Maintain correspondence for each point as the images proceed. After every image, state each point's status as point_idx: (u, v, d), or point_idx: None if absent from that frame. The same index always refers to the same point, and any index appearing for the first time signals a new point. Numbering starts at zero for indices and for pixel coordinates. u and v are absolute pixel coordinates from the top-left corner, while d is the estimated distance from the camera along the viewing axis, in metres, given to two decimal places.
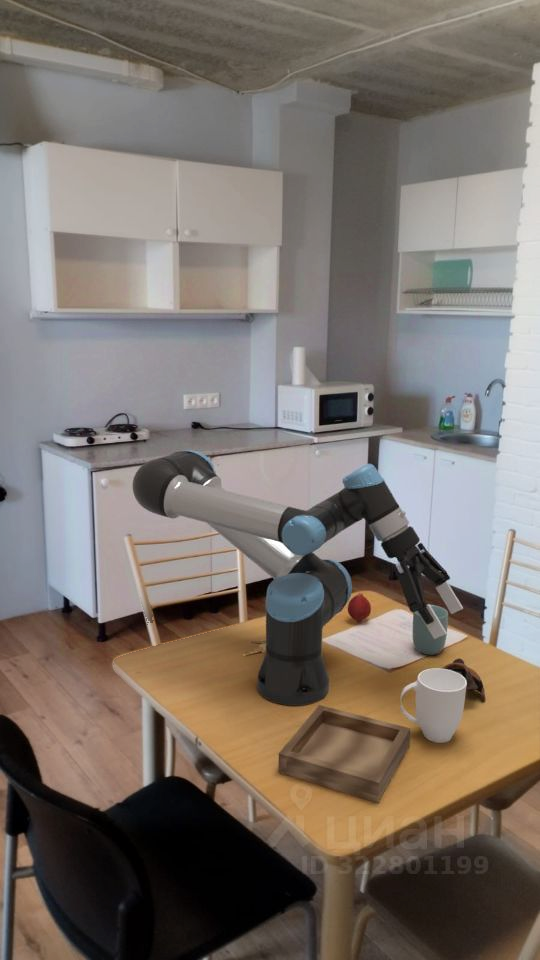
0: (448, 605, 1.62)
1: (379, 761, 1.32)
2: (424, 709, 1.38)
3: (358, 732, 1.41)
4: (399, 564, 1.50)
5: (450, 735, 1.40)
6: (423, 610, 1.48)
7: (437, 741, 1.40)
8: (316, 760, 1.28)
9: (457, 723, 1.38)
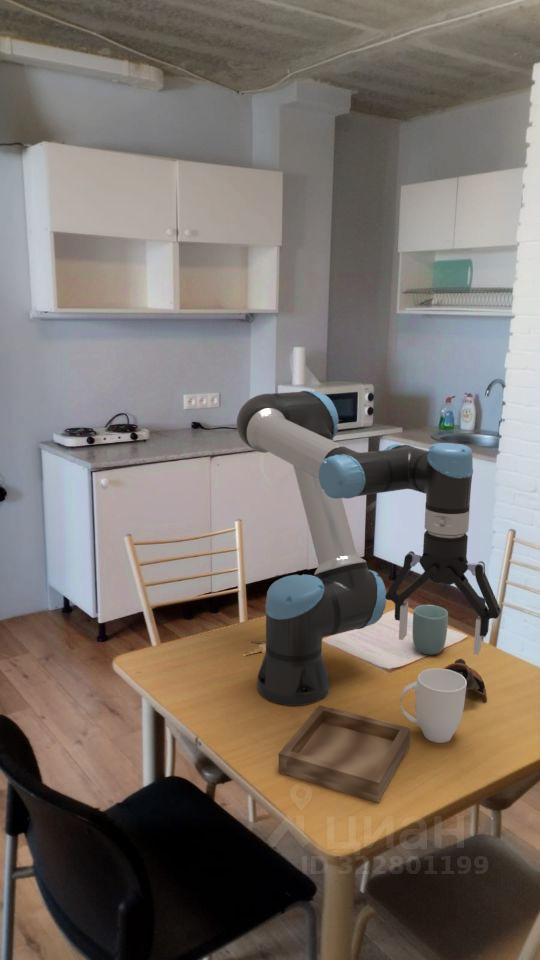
0: None
1: (379, 761, 1.32)
2: (424, 709, 1.38)
3: (358, 732, 1.41)
4: (406, 555, 1.37)
5: (450, 735, 1.40)
6: None
7: (437, 741, 1.40)
8: (316, 760, 1.28)
9: (457, 723, 1.38)
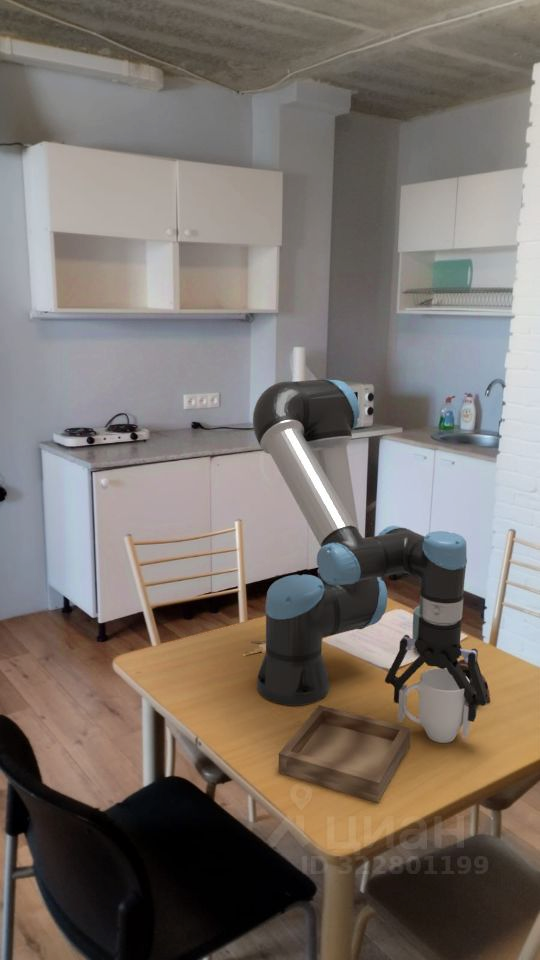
0: None
1: (379, 761, 1.32)
2: (427, 710, 1.38)
3: (358, 732, 1.41)
4: (401, 639, 1.40)
5: (454, 735, 1.40)
6: None
7: (441, 741, 1.40)
8: (316, 760, 1.28)
9: (461, 723, 1.38)
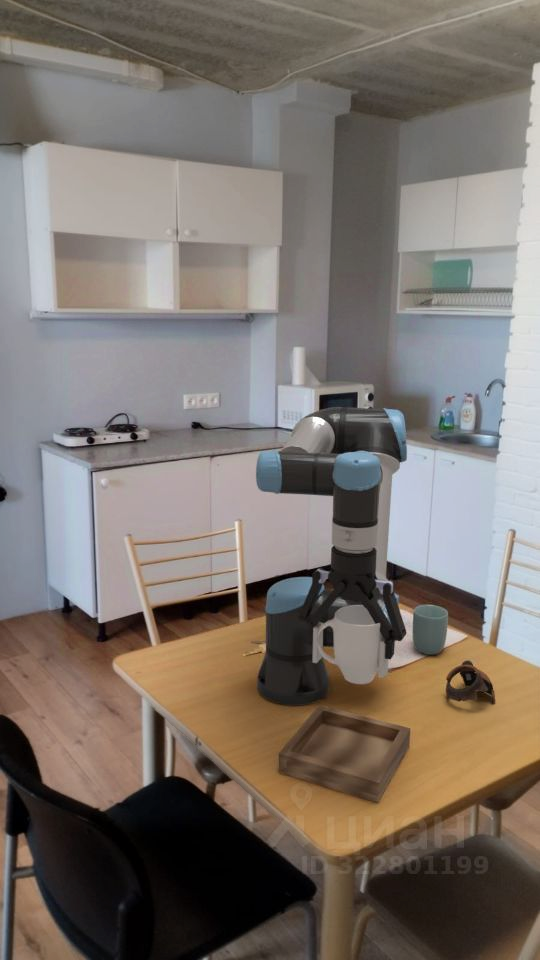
0: None
1: (379, 761, 1.32)
2: (341, 647, 1.27)
3: (358, 732, 1.41)
4: None
5: (371, 675, 1.29)
6: None
7: (357, 682, 1.29)
8: (316, 760, 1.28)
9: (377, 661, 1.28)
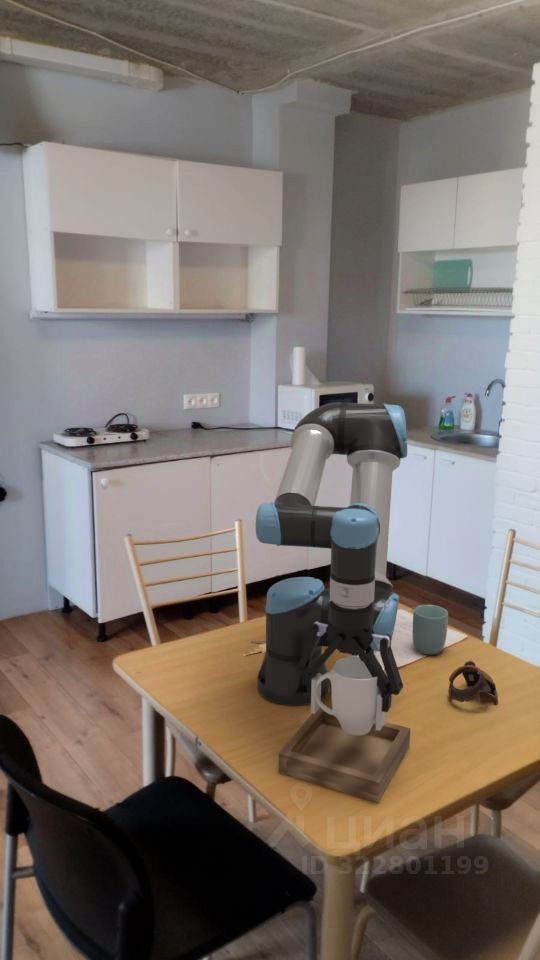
0: None
1: (379, 761, 1.32)
2: (339, 700, 1.29)
3: None
4: (313, 624, 1.32)
5: (368, 727, 1.31)
6: None
7: (354, 733, 1.31)
8: (316, 760, 1.28)
9: (374, 714, 1.30)
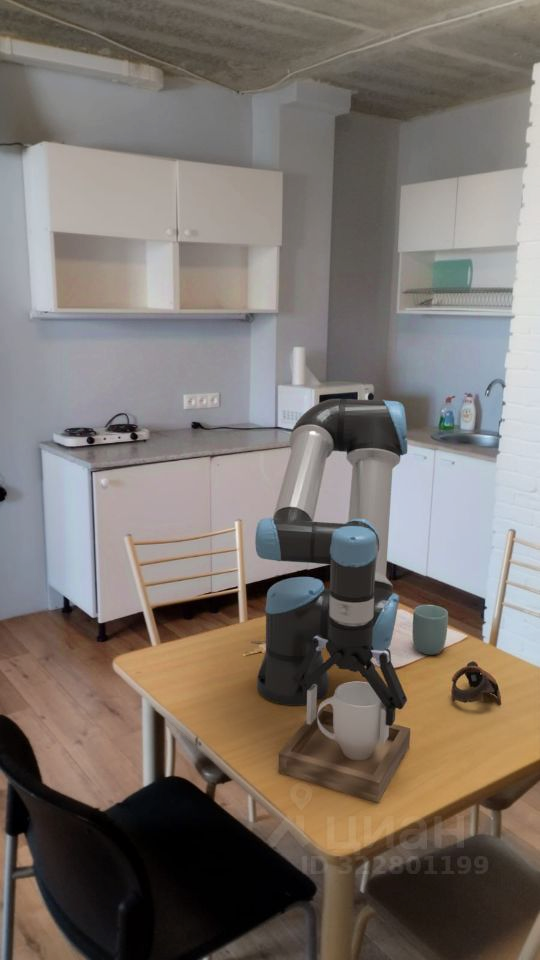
0: None
1: (379, 761, 1.32)
2: (340, 726, 1.30)
3: None
4: (313, 638, 1.33)
5: (369, 752, 1.32)
6: None
7: (355, 758, 1.32)
8: (316, 760, 1.28)
9: (376, 740, 1.31)
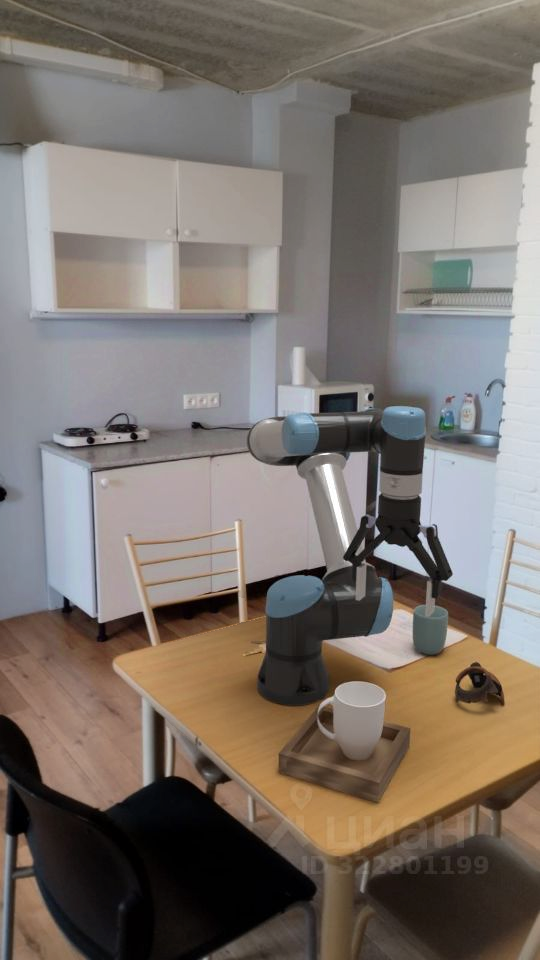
0: None
1: (379, 761, 1.32)
2: (341, 726, 1.30)
3: None
4: None
5: (369, 752, 1.32)
6: None
7: (355, 758, 1.32)
8: (316, 760, 1.28)
9: (376, 740, 1.31)
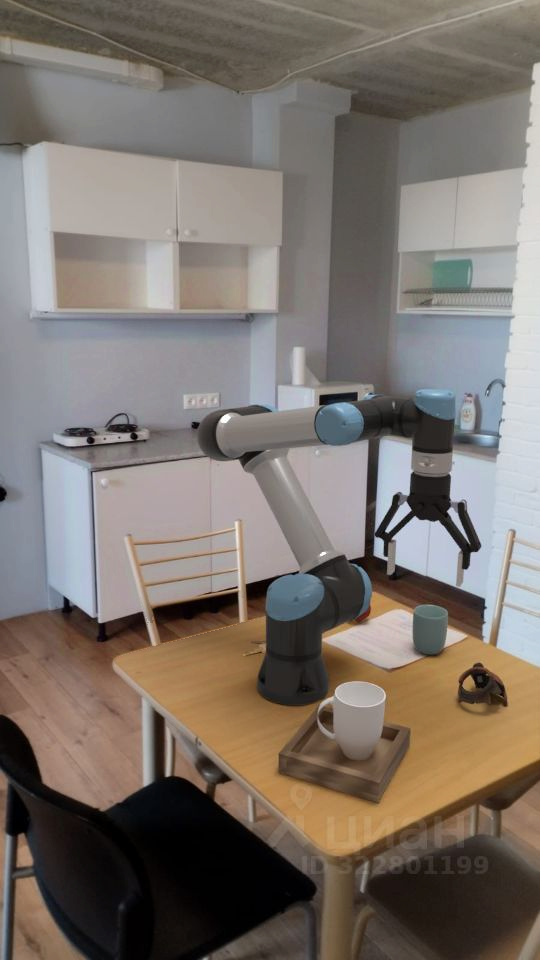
0: None
1: (379, 761, 1.32)
2: (341, 726, 1.30)
3: None
4: None
5: (369, 752, 1.32)
6: None
7: (355, 758, 1.32)
8: (316, 760, 1.28)
9: (376, 740, 1.31)
